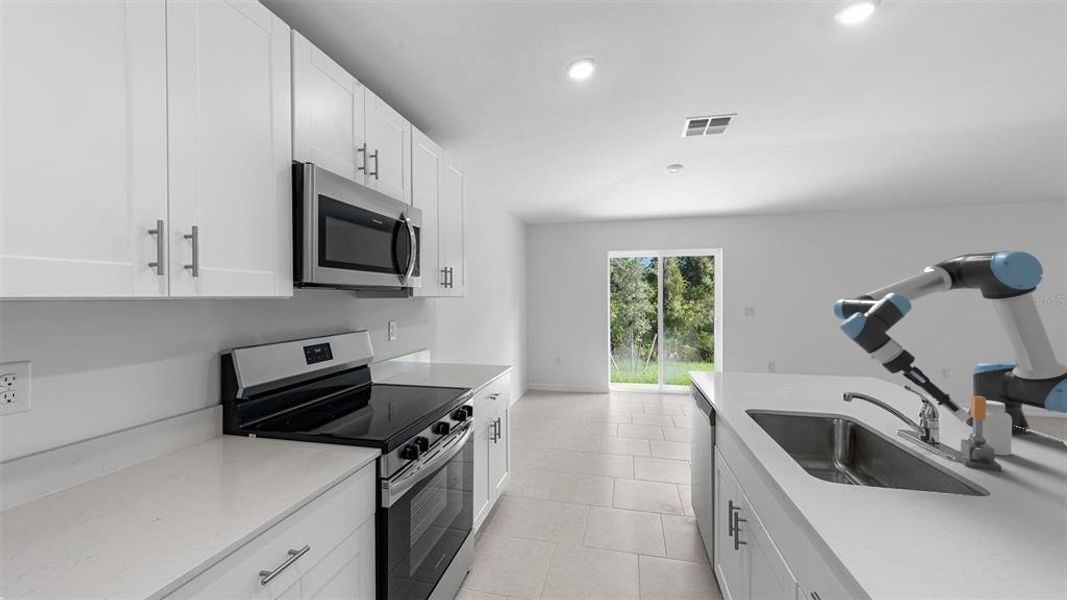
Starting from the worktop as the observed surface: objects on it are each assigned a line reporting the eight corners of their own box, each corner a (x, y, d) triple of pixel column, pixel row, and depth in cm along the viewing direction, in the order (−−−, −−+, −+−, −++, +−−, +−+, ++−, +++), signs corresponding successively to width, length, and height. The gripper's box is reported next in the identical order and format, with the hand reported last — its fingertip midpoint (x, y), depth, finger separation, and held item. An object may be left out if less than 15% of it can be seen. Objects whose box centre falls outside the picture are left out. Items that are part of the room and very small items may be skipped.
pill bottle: (966, 447, 131) (967, 400, 130) (982, 444, 133) (983, 398, 133) (1000, 457, 123) (1002, 407, 123) (1017, 454, 126) (1019, 404, 125)
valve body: (965, 466, 118) (966, 446, 117) (954, 455, 125) (954, 436, 125) (1001, 471, 114) (1001, 450, 114) (987, 460, 122) (987, 440, 121)
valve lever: (973, 444, 119) (974, 397, 118) (969, 440, 121) (970, 395, 121) (985, 445, 117) (986, 398, 117) (980, 441, 120) (981, 396, 120)
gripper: (876, 360, 135) (945, 420, 127) (885, 367, 124) (962, 433, 116) (898, 345, 132) (970, 405, 124) (909, 351, 121) (989, 417, 113)
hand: (966, 418), depth 120 cm, fingers closed
